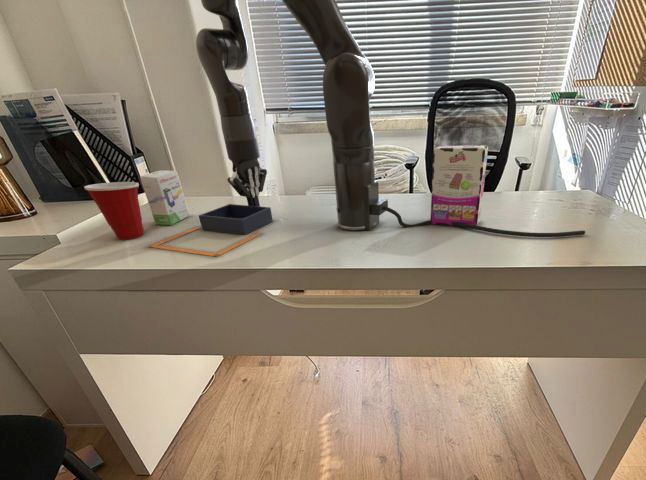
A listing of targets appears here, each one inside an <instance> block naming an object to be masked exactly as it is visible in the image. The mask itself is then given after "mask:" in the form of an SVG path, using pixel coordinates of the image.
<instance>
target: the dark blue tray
mask: <svg viewBox="0 0 646 480" xmlns="http://www.w3.org/2000/svg"><path fill="white" fill-rule="evenodd" d="M272 213H273V212H272V209H271V207H268V206H260V207H259V206H248V204H247V205H245V204H234V203H228V204H226V205H223V206H220V207H217V208H215V209H212V210H209V211H207V212H204V213H202V214H199V215H198V219H199V222H200V226H201V229H202V231H209V232H210V231H211V232H217V233H226V234H227V233H228V234H236V235H243V236H246V235H248V234H251V233H252V232H254V231H256V230H258V229H260V228H262V227H265V226H266V225H268V224H271V223H272V222H274V220H273V214H272Z"/></svg>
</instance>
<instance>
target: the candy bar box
mask: <svg viewBox="0 0 646 480" xmlns="http://www.w3.org/2000/svg"><path fill="white" fill-rule="evenodd" d="M488 153H489V145H438V146H436V147H434V148H433V149H432V156H433V157H432V176H431V198H430V219H429V220H431V221H433V223H432V224H431V225H438V226H450V227H456V226H455V225H452V224H451V223H452V222H460V223H465V224H471V225H477V226H479V224H480V222H481V217H482V206H483V198H484V189H485V179H486V170H487V163H488V162H487V161H488Z"/></svg>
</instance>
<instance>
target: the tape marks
mask: <svg viewBox="0 0 646 480" xmlns="http://www.w3.org/2000/svg"><path fill="white" fill-rule="evenodd" d="M199 229H202V226H201V227H199V226H196V227H194V228H191V229H189V230H186V231H184V232H181V233H178V234H176V235H174V236H171V237H168V238H165V239H164V240H162V241H159V242H156V243H154V244H151V245H148V248H152V249H153V248H154V249H160V250H167V251H174V252H181V253H188V254H195V255H201V256H208V257H214V258H215V257H216V258H218V257H219V256H221V255H223V254H226V253H228V252H230V251H231V250H233V249H236V248H237V247H239V246H241V245H243V244H245V243H247V242H249V241H251V240H253V239H255V238H257V237H258V236H260V235H261V234H260V233H255V234H252V235H251V236H249V237H247V238H244V239H243V240H240V241H239V242H237V243H235V244H233V245H230V246H229V247H227V248H225V249H223V250H221V251H219V252H217V253H213V252H206V251H199V250H193V249H192V250H191V249H185V248H178V247H170V246H163V244H165V243H167V242H169V241H170V242H171V241H172V240H175V239H177V238H180V237H182V236H185V235H187V234H189V233H192V232H194V231H197V230H199Z"/></svg>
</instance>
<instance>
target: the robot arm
mask: <svg viewBox="0 0 646 480" xmlns="http://www.w3.org/2000/svg"><path fill="white" fill-rule="evenodd" d="M281 1H282V3H283V5H284V6H285V7H286V8H287V10H288V11H289V13H290V14H291V15H292V17H293V18H294V19H295V20H296V22H297V23H298V24H299V25H300V27H301V28H302V29H303V30H304V32H305V34H307V37H309V39H310V40H311V41H312V43H313V44H314V47H315V48H316V49H317V52H318V54H319V56H320V59H321V60H322V62H323V64H324V69H323V75H322V93H323V94H322V96H323V104H324V111H325V120H326V127H327V131H328V134H329V137H330V143H331V152H332V153H331V155H332V167H333V177H334V178H333V179H334V189H335V191H334V192H335V201H336V202H335V203H336V207H335V208H336V213H337V226H338V229H339V228H340V229H342V230H345V231H370V230H372V229H373V228H375V227H376V226H377V225H378V224H380V216H381V215H383V214H384V213H385V212H388V213H390V214H392V215H394V216H395V217H396V218H397V221H398V224H399V225H400V226H401V227H402V228H414V227H421V226H427V225H433V224H432V223H433V221H431V220H430V219H428V220H425V221H421V222H418V223H413V224H408V223H406V222H404V221H403V219H402V216H401V215H400V213H398V211H396V210H394V209H392V208H391V207H389V199H387V198H380V195H379V192H380V191H379V181H377V180H376V170H375V169H376V168H375V134H374V130H373V127H372V123H371V112H370V100H371V98H372V96H373V94H374V90H375V86H376V85H375V84H376V82H375V74H374V70H373V68H372V65H371V63H370V62H369V59H367V57H366V55H365V54H364V52H363V51H362V49H361V48H360V46H359V44H358V42H357V40H356V39H355V37H354V36H353V33H352V32H351V30H350V29H349V27H348V25H347V23H346V21H345V19H344V17H343V14H342V11H341V10H340V8H339V5H338V3H337V0H281ZM200 3H201V5H202V7H203V8H204V9H205V10H206V11H207V12H208V13H211V14H213V15H216V16H218V17H219V20H220V22H221V25H222V28H211V27H209V28H208V27H206V28H205V27H204V28H201V29H200V30H199V31H198V32H197V34H196V39H195V48H196V53H197V57H198V60H199V62H200V64H201V66H202V68H203V70H204V72H205V74H206V77H207V79H208V81H209V84H210V86H211V89H212V90H213V93H214V96H215V100H216V103H217V107H218V112H219V116H220V125H221V131H222V136H223V141H224V145H225V149H226V153H227V159H229V161H231V163H232V167H231V168H232V169H231V170H232V175H231V177H227V182H228V183H229V185H230V186H231V187H232V188H233V189H234V190H235V192H237V194H238V195H239V196H240V197H245V198H246V201H247V206H259V207H261V205H260V200H259V196H260V193H263V191H264V186H265V183H266V178H267V174H268V170H267V169H265V168H262V166H261V165H260V162H259V160H258V159H259V158H260V157H261V153H260V148H259V143H258V138H257V132H256V127H255V123H254V119H253V115H252V110H251V106H250V100H249V95H248V90H247V88H246V87H245V85H243V84H242V83H241V84H240V83H237V82H233V81H232V80H231V79H230V77H229V75H228V73H227V72H226V71H240V70H241V71H242V70H243V69H244V68H245V67H246V65H247V63H248V59H249V46H248V41H247V37H246V34H245V29H244V25H243V21H242V20H243V19H242V17H241V16H242V15H241V14H240V13H241V12H240V8H239V0H200ZM451 224H452V225H455V226H454V227H460V228H464V229H469V230H476V231H482V232H486V233H491V234H498V235H505V236H513V237H526V238H561V237H562V238H563V237H572V236H584V235H585V234H586V231H585V230H572V231H562V232H561V231H560V232H528V231H517V230H508V229H507V230H506V229H500V228H492V227H487V226H482V225H471V224H465V223H460V222H452V223H451Z"/></svg>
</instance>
